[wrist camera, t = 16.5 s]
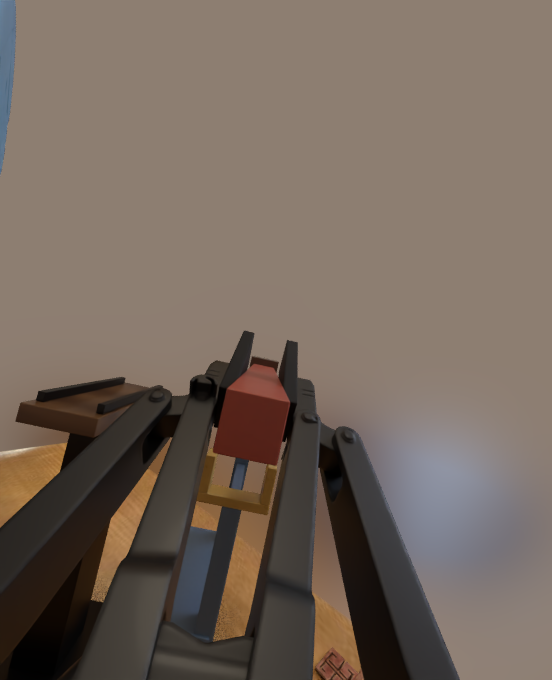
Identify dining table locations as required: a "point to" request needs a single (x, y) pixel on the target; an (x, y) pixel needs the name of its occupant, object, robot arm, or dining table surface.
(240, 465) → the chair
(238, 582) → the dining table surface
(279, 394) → the hanger bar
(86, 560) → the stand
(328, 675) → the key
